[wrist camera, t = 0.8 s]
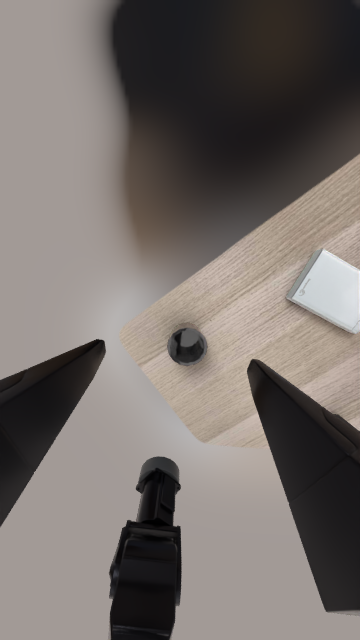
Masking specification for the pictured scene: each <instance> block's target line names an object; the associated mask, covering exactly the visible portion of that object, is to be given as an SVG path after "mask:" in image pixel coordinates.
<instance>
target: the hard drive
mask: <svg viewBox="0 0 360 640" xmlns="http://www.w3.org/2000/svg"><path fill="white" fill-rule="evenodd" d="M286 299H288V300H290V301H292V302H294V303H296V304H297V305H299V306H301V307H303V308H305V309H307V310H308V311H310V312H312V313H314V314H316V315H318V316H319V317H321V318H323V319H325V320H327V321H329V322H331V323H332V324H334V325H336V326H338V327H340V328H342V329H344V330H345V331H347V332H349V333H354V334H357V333H358V332H359V331H360V270H359V269H357V268H355V267H354V266H352V265H350V264H348V263H347V262H345V261H343V260H342V259H340V258H338V257H336V256H335V255H333V254H331V253H330V252H328V251H326V250H325V249H319V250H316V251H315V252H314V254H313V255H312V257H311V258H310V260H309V261H308V263H307V264H306V266H305V268H304V269H303V271H302V272H301V274H300V276H299V277H298V279H297V280H296V282H295V283H294V285H293V287H292V288H291V290H290V291H289V293H288V295H287V296H286Z"/></svg>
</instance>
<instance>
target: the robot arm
mask: <svg viewBox="0 0 360 640" xmlns="http://www.w3.org/2000/svg"><path fill="white" fill-rule="evenodd" d="M105 353H106V349H105V342H104V340H99V339H96V340H94V341H91V342H89V343H87V344H85V345H82V346H80V347H77V348H75V349H73V350H70V351H68V352H66V353H63V354H61V355H59V356H56V357H54V358H51V359H50V360H47V361H45V362H42V363H40V364H37V365H35V366H33V367H30V368H28V369H26V370H24V371H21V372H19V373H17V374H14V375H11V376H9V377H7V378H4V379H2V380H0V526H1V525H2V524H3V522H4V520H5V519H6V517H7V515H8V514H9V512H10V511H11V509H12V508H13V506H14V504H15V503H16V501H17V500H18V498H19V497H20V495H21V493H22V492H23V490H24V488H25V487H26V485H27V484H28V482H29V481H30V479H31V477H32V475H33V474H34V472H35V471H36V469H37V468H38V466H39V464H40V463H41V461H42V460H43V458H44V456H45V455H46V453H47V452H48V450H49V448H50V447H51V445H52V444H53V442H54V440H55V439H56V437H57V436H58V434H59V432H60V431H61V429H62V427H63V426H64V424H65V423H66V421H67V420H68V418H69V416H70V414H71V413H72V412H73V410H74V409H75V407H76V405H77V404H78V402H79V401H80V399H81V397H82V396H83V394H84V393H85V391H86V389H87V388H88V386H89V384H90V383H91V381H92V380H93V378H94V376H95V374H96V372H97V370H98V368H99V366H100V364H101V362H102V360H103V358H104V356H105ZM247 374H248V379H249V383H250V387H251V392H252V396H253V399H254V402H255V405H256V408H257V411H258V414H259V417H260V420H261V423H262V426H263V429H264V432H265V435H266V438H267V441H268V444H269V447H270V450H271V452H272V455H273V458H274V461H275V464H276V467H277V470H278V473H279V476H280V479H281V482H282V485H283V488H284V491H285V494H286V496H287V500H288V502H289V506H290V509H291V512H292V515H293V518H294V520H295V524H296V526H297V530H298V532H299V535H300V538H301V541H302V544H303V547H304V550H305V553H306V556H307V559H308V562H309V565H310V568H311V571H312V574H313V576H314V580H315V583H316V585H317V588H318V591H319V594H320V597H321V600H322V603H323V605H324V608H325V610H326V612H329V613H337V614H346V615H355V616H360V433H359V432H357V431H356V430H354V429H353V428H351V427H350V426H349V425H347V424H346V423H344V422H343V421H341V420H340V419H339V418H337V417H336V416H335V415H333V414H332V413H330V412H329V411H328V410H326V409H325V408H324V407H322V406H321V405H320V404H318V403H317V402H316V401H314V400H313V399H311V398H310V397H309V396H307V395H306V394H305V393H303V392H302V391H301V390H299V389H298V388H297V387H295V386H294V385H293V384H291V383H290V382H288V381H287V380H286V379H284V378H283V377H282V376H280V375H279V374H278V373H276V372H275V371H274V370H272V369H271V368H270V367H268V366H267V365H266V364H264V363H263V362H261V361H260V360H257V359H252V360H251V362H250V364H249V366H248V369H247ZM180 489H181V485H180V484H179V483H178V482H177V481H175V480H174V479H173V478H171V477H170V476H168V475H167V474H166V473H164V472H163V471H162V470H160V469H159V468H155V469H154V470H153V471H152V472H151V473H149V474H148V475H147V476H146V477H145V478H144V479H143V480H142V481H141V482H140V483H139V484H137V486H136V490H137V491H138V492H140V493H141V494H142V495H141V500H140V505H139V509H138V514H137V519H136V522H132V521H131V520H127V524H126V526H125V527H124V528H122V532H121V536H120V540H119V543H118V547H117V550H116V553H115V556H114V559H113V561H112V564H111V567H110V572H109V575H110V579H111V584H110V587H111V589H110V595H109V598H110V599H113V601H112V606H111V611H110V622H109V637H108V640H171V638H172V633H173V628H174V623H175V607H176V606H179V605H180V595H181V529H180V526H177V527H175V526H173V516H174V515H173V514H174V511H175V493H177V492H178V491H179V490H180Z"/></svg>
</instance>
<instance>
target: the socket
mask: <svg viewBox="0 0 360 640" xmlns="http://www.w3.org/2000/svg"><path fill="white" fill-rule="evenodd" d="M167 348H168V352H169V355H170V357H171V358H172V359H173V360H174V361H175V362H177V363H178V364H180V365H186V366H189V365H194V364H196V363H198V362H200V361H201V360H202V359H203V357H204V356H205V355H206V351H207V342H206V339H205V337H204V335H203V333H202V331H201V330H200V328H199V327H197V326H196V325H194V324H192V323H181V324H179V325H177V326H176V327H175V328H174V329H173V330H172V332H171V334H170V337H169V340H168V346H167Z"/></svg>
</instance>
